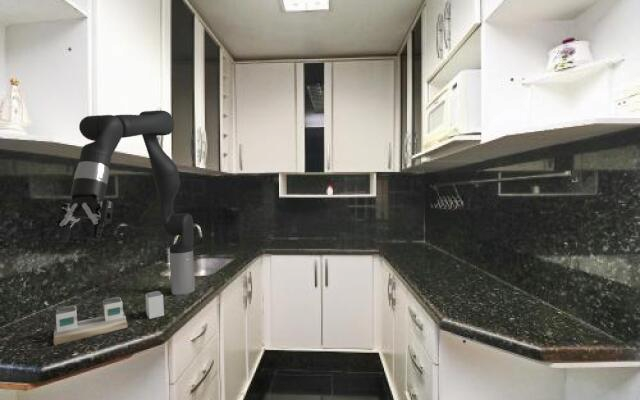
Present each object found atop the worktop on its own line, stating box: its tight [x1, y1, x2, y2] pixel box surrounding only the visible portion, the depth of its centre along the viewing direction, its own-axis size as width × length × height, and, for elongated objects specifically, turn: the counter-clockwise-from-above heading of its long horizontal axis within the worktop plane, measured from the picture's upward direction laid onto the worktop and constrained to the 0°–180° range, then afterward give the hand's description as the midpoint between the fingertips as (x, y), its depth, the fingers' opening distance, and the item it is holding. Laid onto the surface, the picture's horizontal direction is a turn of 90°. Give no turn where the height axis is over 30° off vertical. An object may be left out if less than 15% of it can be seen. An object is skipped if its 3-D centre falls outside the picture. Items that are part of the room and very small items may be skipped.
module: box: [145, 290, 165, 320], centre depth 114 cm, size 6×4×8 cm
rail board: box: [53, 296, 129, 346], centre depth 103 cm, size 12×18×8 cm, turn 127°
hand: (78, 240), depth 85 cm, fingers open, 8 cm apart
